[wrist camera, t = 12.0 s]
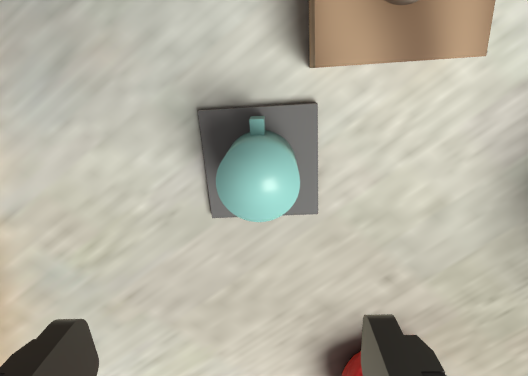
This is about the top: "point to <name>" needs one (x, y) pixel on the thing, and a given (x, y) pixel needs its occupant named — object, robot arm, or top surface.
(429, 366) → the robot arm
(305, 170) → the coaster
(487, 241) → the top surface
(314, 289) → the top surface
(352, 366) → the pomegranate
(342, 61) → the post block
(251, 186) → the teal rounded tabbed figurine
